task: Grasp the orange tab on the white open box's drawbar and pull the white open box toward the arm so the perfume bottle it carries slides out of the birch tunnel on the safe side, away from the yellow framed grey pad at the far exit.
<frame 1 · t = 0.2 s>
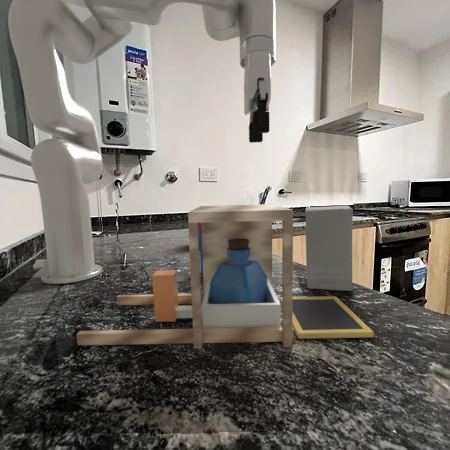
hand: (258, 137, 58), 31 cm above the worktop, fingers open, 9 cm apart
tomato: (205, 245, 96), on the worktop
track: (180, 319, 39), on the worktop
tunnel: (239, 318, 39), on the worktop
skincare box: (327, 286, 52), on the worktop
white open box: (214, 294, 39), point 4 cm above the worktop, slide at 0.0 cm
perfume bottle: (240, 319, 39), resting in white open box
beverage can: (214, 273, 62), on the worktop
yellow framed grey pad: (319, 316, 39), on the worktop
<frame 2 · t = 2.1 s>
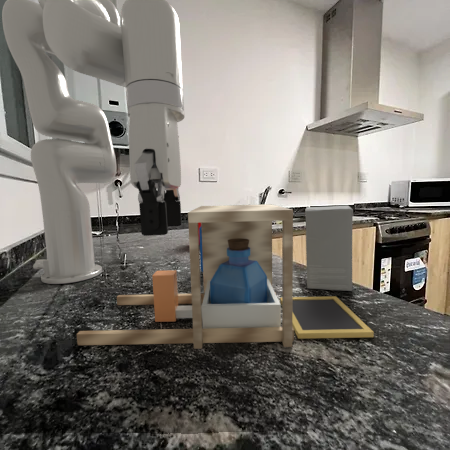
hand: (164, 229, 37), 14 cm above the worktop, fingers open, 9 cm apart
nothing on the worktop moved.
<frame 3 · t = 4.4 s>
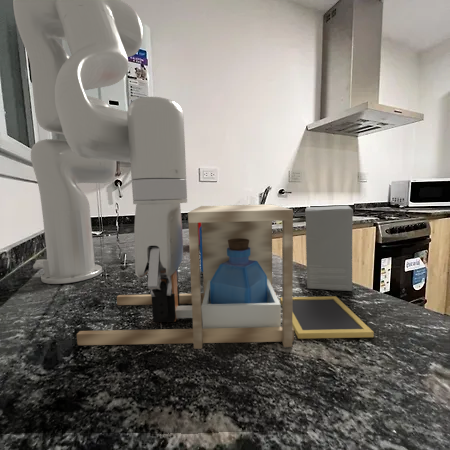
hand: (167, 314, 39), 1 cm above the worktop, fingers closed on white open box, 2 cm apart
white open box: (214, 294, 39), point 4 cm above the worktop, slide at 0.0 cm, touching gripper
everything else where it was.
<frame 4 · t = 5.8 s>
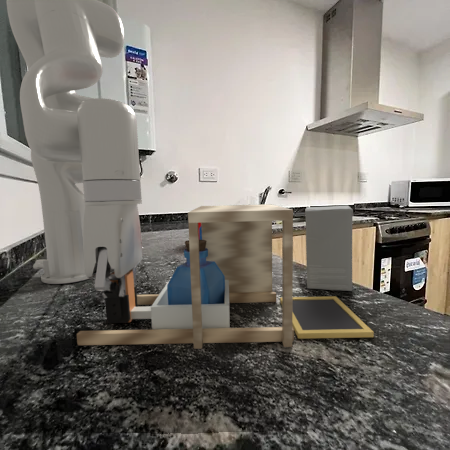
hand: (123, 315, 39), 1 cm above the worktop, fingers closed on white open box, 2 cm apart
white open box: (170, 295, 39), point 4 cm above the worktop, slide at 6.7 cm, touching gripper, perfume bottle
perfume bottle: (198, 321, 39), resting in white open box
everything else where it was.
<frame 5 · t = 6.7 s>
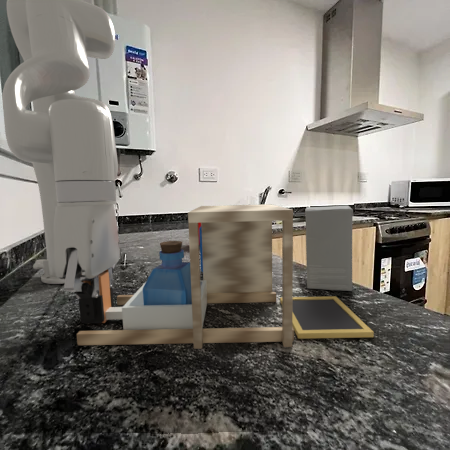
hand: (98, 316, 39), 1 cm above the worktop, fingers closed on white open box, 2 cm apart
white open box: (145, 295, 39), point 4 cm above the worktop, slide at 10.4 cm, touching gripper
perfume bottle: (175, 323, 39), resting in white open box
everything else where it was.
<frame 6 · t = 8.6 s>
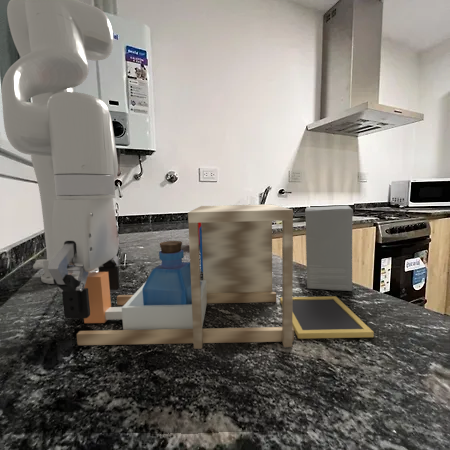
hand: (95, 301, 40), 3 cm above the worktop, fingers open, 9 cm apart
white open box: (144, 295, 39), point 4 cm above the worktop, slide at 10.5 cm
everything else where it was.
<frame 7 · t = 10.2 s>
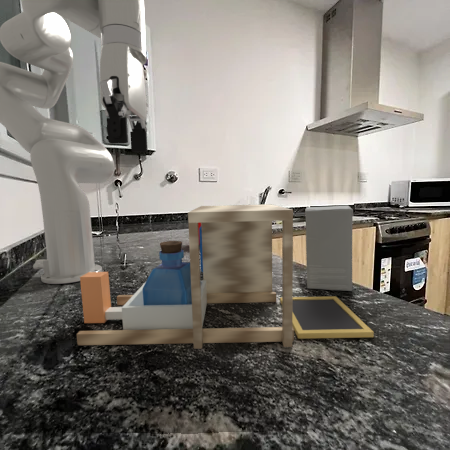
hand: (130, 147, 48), 28 cm above the worktop, fingers open, 9 cm apart
nothing on the worktop moved.
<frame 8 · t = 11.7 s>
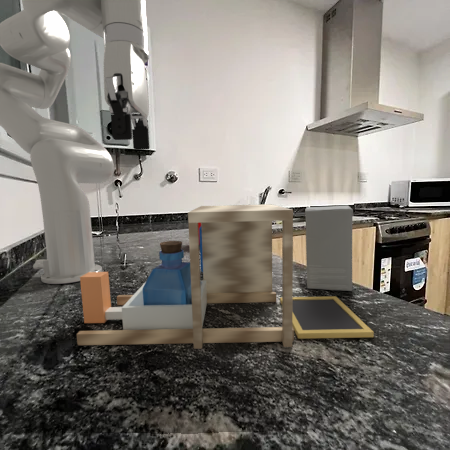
hand: (133, 144, 49), 28 cm above the worktop, fingers open, 9 cm apart
nothing on the worktop moved.
at the end: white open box slide at 10.5 cm; perfume bottle inside the target area (1.7 cm from its centre), resting in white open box; perfume bottle tilted 0° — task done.
